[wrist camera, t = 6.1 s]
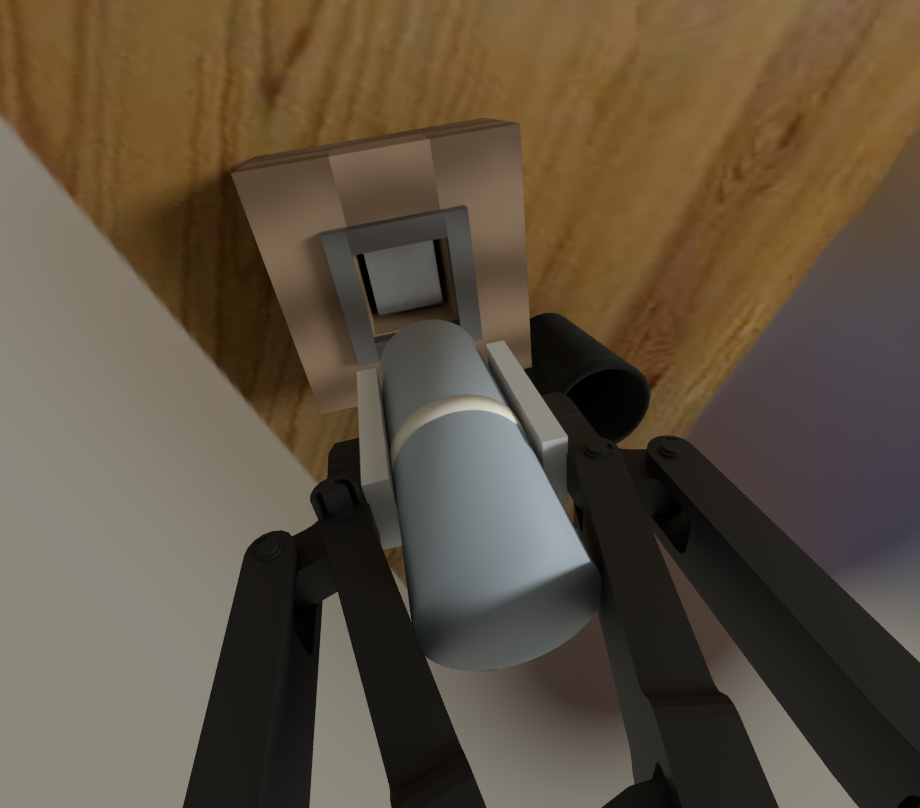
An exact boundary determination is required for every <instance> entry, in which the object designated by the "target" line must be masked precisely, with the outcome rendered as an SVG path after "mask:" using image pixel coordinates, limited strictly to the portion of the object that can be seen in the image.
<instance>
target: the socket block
mask: <svg viewBox="0 0 920 808" xmlns="http://www.w3.org/2000/svg"><path fill="white" fill-rule="evenodd" d="M231 176H232V178H233V181H234V184H235V186H236V189H237V192H238V194H239V197H240V200H241V202H242V205H243V208H244V210H245V213H246V216H247V218H248V221H249V224H250V226H251V229H252V232H253V234H254V237H255V240H256V242H257V245H258V248H259V250H260V253H261V256H262V258H263V261H264V264H265V266H266V269H267V272H268V274H269V277H270V280H271V282H272V285H273V288H274V290H275V293H276V296H277V298H278V301H279V304H280V306H281V309H282V311H283V314H284V317H285V319H286V322H287V325H288V327H289V330H290V333H291V335H292V338H293V341H294V343H295V346H296V349H297V351H298V354H299V357H300V359H301V362H302V365H303V367H304V370H305V373H306V375H307V378H308V381H309V383H310V386H311V389H312V391H313V394H314V397H315V399H316V402H317V405H318V407H319V410H320V413H321V414H325V413H330V412H334V411H339V410H343V409H347V408H352V407H356V406H358V393H357V372H358V371H363V370H367V369H372V368H376V370H377V374H378V377H379V381H380V385H381V389H382V384H381V376H380V360H381V356H382V353H383V351H384V348H385V347H386V345H387V343H388V342H389V341H390V339H391V338H392V337H393V336H394V335H395V334H396V333H397V332H398V331H400V330H401V329H403V328H404V327H406V326H408V325H410V324H412V323H415V322H419V321H422V320H433V319H436V320H444V321H448V322H451V323H454V324H456V325H458V326H460V327H461V328H463V329H464V330H465V331H466V332H467V333H468V334H469V335H470V336H471V337H472V338H473V340H474V341H475V343H476V345H477V347H478V349H479V351H480V353H481V354H482V356H483V358H484V360H485V362H486V364H487V366H488V361H487V352H486V344H489V343H494V342H498V341H503V340H504V341H505V343H506V344H507V346H508V347H509V349H510V350H511V352H512V353H513V355H514V356H515V358H516V359H517V361H518V362H519V364H520V365H521V367H522V368H523V369H526V368H530V367H532V358H531V338H530V318H529V298H528V278H527V258H526V238H525V218H524V198H523V178H522V158H521V138H520V124H519V123H513V122H507V121H501V120H495V119H489V118H481V119H475V120H469V121H464V122H458V123H452V124H446V125H440V126H434V127H428V128H422V129H417V130H411V131H405V132H399V133H393V134H387V135H381V136H376V137H370V138H364V139H358V140H352V141H346V142H340V143H334V144H329V145H323V146H317V147H311V148H305V149H299V150H293V151H288V152H282V153H276V154H270V155H264V156H258V157H254V158H252V159H251V160H250V161H248V162H247V163H245V164H244V165H242V166H241V167H239V168H238V169H237V170H235V171H234V172H232V173H231ZM430 240H433V245H434V252H435V258H436V264H437V270H438V276H439V282H440V289H441V295H442V301H443V302H442V303H437V304H432V305H428V306H423V307H418V308H413V309H408V310H403V311H399V312H394V313H389V314H384V315H379V314H378V310H377V306H376V302H375V298H374V294H373V293H372V294H370V293H369V289H368V285H367V281H366V277H365V273H364V269H363V265H362V261H361V257H360V254H363V253H368V252H374V251H379V250H384V249H389V248H394V247H399V246H405V245H410V244H415V243H420V242H425V241H430Z"/></svg>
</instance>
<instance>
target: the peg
mask: <svg viewBox="0 0 920 808" xmlns="http://www.w3.org/2000/svg"><path fill="white" fill-rule="evenodd" d="M380 376H381V384H382V392H383V400H384V408H385V415H386V423H387V431H388V439H389V447H390V463H391V471H392V476H393V480H394V486H395V494H396V502H397V510H398V518H399V526H400V534H401V542H402V549H403V557H404V565H405V573H406V581H407V589H408V596H409V605H410V612H411V620H412V625H413V627H414V630H415V632H416V635H417V637H418V640H419V642H420V645H421V647H422V650H423V652H424V655H425V656H426V657H427V658H428V659H430V660H432V661H433V662H435V663H437V664H440V665H442V666H445V667H449V668H452V669H459V670H469V671H482V670H493V669H499V668H505V667H509V666H513V665H517V664H520V663H523V662H526V661H529V660H531V659H534V658H537V657H539V656H541V655H543V654H546V653H548V652H549V651H551V650H553V649H555V648H557V647H558V646H560V645H561V644H563V643H565V642H566V641H568V640H569V639H570V638H571V637H573V636H574V635H575V634H576V633H577V632H578V631H580V629H582V628H583V627H584V626H585V624H586V623H587V622H588V621H589V620H590V619H591V617H592V616H593V614H594V613H595V611H596V610H597V608H598V606H599V603H600V598H601V583H602V578H601V575H600V573H599V571H598V569H597V567H596V565H595V563H594V562H593V560H592V558H591V556H590V554H589V552H588V550H587V549H586V547H585V545H584V543H583V541H582V539H581V537H580V536H579V534H578V532H577V530H576V528H575V526H574V525H573V523H572V521H571V519H570V517H569V515H568V513H567V512H566V510H565V508H564V506H563V504H562V502H561V500H560V499H559V497H558V495H557V493H556V491H555V489H554V488H553V486H552V484H551V482H550V480H549V478H548V476H547V475H546V473H545V471H544V469H543V467H542V465H541V464H540V462H539V460H538V458H537V456H536V454H535V452H534V451H533V449H532V447H531V445H530V441H529V438H528V436H527V434H526V432H525V431H524V429H523V427H522V425H521V423H520V421H519V420H518V418H517V417H516V415H515V414H514V413H513V412H512V410H511V408H510V406H509V404H508V402H507V401H506V399H505V397H504V395H503V393H502V391H501V390H500V388H499V386H498V384H497V382H496V380H495V378H494V377H493V375H492V373H491V371H490V369H489V367H488V366H487V364H486V362H485V360H484V358H483V356H482V354H481V353H480V351H479V349H478V347H477V345H476V343H475V341H474V340H473V338H472V337H471V336H470V335H469V334H468V333H467V332H466V331H465V330H464V329H463V328H461V327H460V326H458V325H456V324H454V323H451V322H448V321H444V320H436V319H433V320H422V321H419V322H415V323H412V324H410V325H408V326H406V327H404V328H403V329H401V330H400V331H398V332H397V333H396V334H395V335H394V336H393V337H392V338H391V339H390V341H389V342H388V343H387V345H386V347H385V348H384V351H383V353H382V356H381V360H380Z"/></svg>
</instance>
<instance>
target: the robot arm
mask: <svg viewBox="0 0 920 808" xmlns="http://www.w3.org/2000/svg"><path fill="white" fill-rule="evenodd" d="M486 352H487V361H488V367H489V369H490V371H491V373H492V375H493V377H494V378H495V380H496V382H497V384H498V386H499V388H500V390H501V391H502V393H503V395H504V397H505V399H506V401H507V402H508V404H509V406H510V408H511V410H512V412H513V413H514V414H515V415H516V417H517V418H518V420H519V421H520V423H521V425H522V427H523V429H524V431H525V432H526V434H527V436H528V438H529V441H530V445H531V447H532V449H533V451H534V452H535V454H536V456H537V458H538V460H539V462H540V464H541V465H542V467H543V469H544V471H545V473H546V475H547V476H548V478H549V480H550V482H551V484H552V486H553V488H554V489H555V491H556V493H557V495H558V497H559V499H560V500H561V502H562V504H567V503H568V492H569V494H570V495H571V497H572V499H573V501H574V526H575V528H576V529H577V528H578V533H579V536H580V537H581V539H582V541H583V543H584V545H585V547H586V549H587V550H588V552H589V554H590V556H591V558H592V560H593V562H594V563H595V565H596V567H597V569H598V571H599V573H600V575H601V578H602V583H601V598H600V603H599V606H598V608H597V612H598V616H599V620H600V625H601V629H602V633H603V637H604V641H605V646H606V650H607V653H608V658H609V662H610V667H611V671H612V675H613V679H614V683H615V687H616V692H617V696H618V700H619V704H620V708H621V713H622V716H623V721H624V725H625V729H626V733H627V738H628V742H629V747H630V751H631V759H632V769H633V777H634V784H635V785H632V786H629V787H628V788H626V789H625V790H624V791H623V792H621V793H620V794H619V795H617V796H616V797H615V798H613V799H612V800H611V801H609V802H608V803H607V804H606V805H604V806H603V807H602V808H779V807H778V805H777V802H776V800H775V798H774V796H773V793H772V791H771V788H770V786H769V784H768V781H767V779H766V777H765V774H764V772H763V770H762V767H761V765H760V762H759V760H758V758H757V755H756V753H755V751H754V748H753V746H752V744H751V741H750V739H749V737H748V735H747V732H746V729H745V727H744V725H743V722H742V720H741V718H740V716H739V714H738V712H737V710H736V708H735V706H734V704H733V703H732V701H731V700H730V698H729V697H728V696H727V695H725V694H723V693H721V692H719V690H718V689H717V687H716V686H715V684H714V682H713V680H712V677H711V675H710V672H709V670H708V667H707V665H706V662H705V660H704V657H703V655H702V652H701V650H700V648H699V645H698V643H697V640H696V638H695V635H694V633H693V631H692V628H691V625H690V623H689V621H688V618H687V615H686V613H685V610H684V608H683V605H682V603H681V601H680V598H679V596H678V593H677V591H676V588H675V586H674V583H673V581H672V578H671V576H670V573H669V571H668V568H667V566H666V563H665V561H664V559H663V556H662V554H661V551H660V549H659V546H658V544H657V541H656V539H655V536H654V534H655V535H656V536H657V538H658V539H659V540H660V542H661V543H662V545H663V546H664V547H665V549H666V550H667V551H668V553H669V554H670V555H671V557H672V558H673V559H674V561H675V562H676V563H677V565H678V566H679V568H680V569H681V570H682V572H683V573H684V574H685V576H686V577H687V578H688V580H689V581H690V582H691V584H692V585H693V586H694V588H695V589H696V590H697V592H698V593H699V595H700V596H701V597H702V599H703V600H704V601H705V603H706V604H707V605H708V607H709V608H710V609H711V611H712V612H713V614H714V615H715V616H716V618H717V619H718V620H719V622H720V623H721V624H722V626H723V627H724V628H725V630H726V631H727V632H728V634H729V635H730V636H731V638H732V639H733V641H734V642H735V643H736V645H737V646H738V647H739V649H740V650H741V651H742V653H743V654H744V655H745V657H746V658H747V659H748V661H749V662H750V663H751V665H752V666H753V668H754V669H755V670H756V672H757V673H758V674H759V676H760V677H761V678H762V680H763V681H764V683H765V684H766V685H767V687H768V688H769V689H770V690H771V692H772V693H773V695H774V696H775V697H776V699H777V700H778V701H779V703H780V704H781V705H782V707H783V708H784V710H785V711H786V712H787V714H788V715H789V716H790V718H791V719H792V720H793V722H794V723H795V724H796V726H797V727H798V728H799V730H800V731H801V733H802V734H803V735H804V736H805V738H806V739H807V741H808V742H809V743H810V745H811V746H812V747H813V749H814V750H815V752H816V753H817V754H818V756H819V757H820V758H821V760H822V761H823V762H824V764H825V765H826V766H827V768H828V769H829V770H830V772H831V773H832V774H833V776H834V777H835V778H836V779H837V781H838V782H839V783H840V784H841V786H842V787H843V788H844V789H845V791H846V792H847V793H848V795H849V796H850V797H851V798H852V800H853V801H854V802H855V803H856V804H857V806H858V807H859V808H920V662H919V661H917V659H916V658H914V657H913V656H912V655H911V654H910V653H909V652H908V651H907V650H906V649H905V648H904V647H903V646H902V645H901V644H900V643H899V642H898V641H897V640H896V639H894V637H893V636H891V635H890V634H889V633H888V632H887V631H886V630H885V629H884V628H883V627H882V626H881V625H880V624H879V623H878V622H877V621H876V620H875V619H874V618H873V617H871V615H870V614H869V613H867V612H866V611H865V610H864V609H863V608H862V607H861V606H860V605H859V604H858V603H857V602H856V601H855V600H854V599H853V598H852V597H851V596H850V595H849V594H848V593H847V592H846V591H845V590H843V589H842V588H841V587H840V586H839V585H838V584H837V583H836V582H835V581H834V580H833V579H832V578H831V577H830V576H829V575H828V574H827V573H826V572H825V571H824V570H823V569H822V568H821V567H819V566H818V565H817V564H816V563H815V562H814V561H813V560H812V559H811V558H810V557H809V556H808V555H807V554H806V553H805V552H804V551H803V550H801V548H800V547H799V546H798V545H796V544H795V543H794V542H793V541H792V540H791V539H790V538H789V537H788V536H787V535H786V534H785V533H784V532H783V531H782V530H781V529H780V528H779V527H777V525H776V524H775V523H773V522H772V521H771V520H770V519H769V518H768V517H767V516H766V515H765V514H764V513H763V512H762V511H761V510H760V509H759V508H758V507H757V506H756V505H755V504H754V503H753V502H752V501H751V500H749V499H748V498H747V497H746V496H745V495H744V494H743V493H742V492H741V491H740V490H739V489H738V488H737V487H736V486H735V485H734V484H733V483H732V482H730V480H729V479H727V477H725V476H724V475H723V474H722V473H721V472H720V471H719V470H718V469H717V468H716V467H715V466H714V465H713V464H712V463H711V462H710V461H709V460H707V458H705V456H704V455H703V454H701V453H700V452H699V451H698V450H697V449H696V448H695V447H694V446H693V445H692V444H691V443H689V442H688V441H686V440H685V439H682V438H679V437H676V436H658V437H656V438H654V439H652V440H651V441H650V442H649V443H648V446H647V449H620V448H618V447H617V445H616V444H615V443H614V442H612V441H611V440H609V439H606V438H602V437H599V435H598V434H597V433H596V431H595V430H594V429H593V427H592V426H591V425H590V423H589V422H588V421H587V420H586V418H585V417H584V416H583V415H582V414H581V412H580V410H579V409H578V408H577V407H576V405H575V404H574V402H573V401H572V400H571V398H570V397H568V396H566V395H564V394H562V393H561V392H554V393H550V394H545V395H540V394H539V392H538V391H537V389H536V388H535V386H534V385H533V383H532V382H531V380H530V379H529V377H528V376H527V374H526V373H525V371H524V370H523V368H522V367H521V365H520V364H519V362H518V361H517V359H516V358H515V356H514V355H513V353H512V352H511V350H510V349H509V347H508V346H507V344H506V343H505V341H504V340H503V341H498V342H494V343H489V344H486ZM357 393H358V418H359V438H357V439H352V440H348V441H343V442H339V443H335V444H334V446H333V448H332V449H331V451H330V453H329V455H328V475H327V479H326V480H324V481H322V482H320V483H319V484H318V485H317V486H316V487H315V488H314V489H313V491H312V493H311V496H310V502H311V504H312V506H313V509H314V511H315V513H316V515H317V518H318V521H317V522H316V523H315V524H313V525H312V526H311V527H309V528H307V529H306V530H304V531H302V532H300V533H298V534H296V535H294V536H291V535H290V534H289V533H288V532H285V531H282V530H281V531H272V532H269V533H267V534H264V535H262V536H261V537H259V538H258V539H256V540H255V541H254V542H253V543H252V544H251V545H250V546H249V547H248V549H247V551H246V553H245V555H244V559H243V563H242V567H241V571H240V575H239V579H238V584H237V587H236V591H235V596H234V600H233V604H232V608H231V612H230V616H229V620H228V624H227V628H226V632H225V637H224V641H223V645H222V649H221V653H220V657H219V661H218V665H217V669H216V673H215V678H214V682H213V686H212V690H211V694H210V699H209V702H208V706H207V710H206V715H205V719H204V723H203V727H202V731H201V735H200V739H199V744H198V748H197V751H196V756H195V760H194V764H193V768H192V772H191V776H190V781H189V784H188V789H187V792H186V797H185V801H184V805H183V808H309V801H310V787H311V772H312V756H313V755H312V754H313V741H314V725H315V710H316V694H317V678H318V663H319V647H320V632H321V616H322V600H324V599H325V598H327V597H329V596H331V595H332V594H334V593H336V592H338V594H339V598H340V602H341V605H342V609H343V613H344V616H345V620H346V624H347V628H348V632H349V636H350V639H351V643H352V647H353V651H354V654H355V658H356V662H357V666H358V669H359V673H360V677H361V681H362V684H363V688H364V692H365V696H366V699H367V703H368V707H369V711H370V715H371V718H372V722H373V726H374V730H375V733H376V737H377V741H378V745H379V748H380V752H381V756H382V760H383V763H384V767H385V771H386V775H387V779H388V783H389V787H390V802H391V807H392V808H486V805H485V803H484V800H483V798H482V795H481V793H480V790H479V788H478V785H477V783H476V780H475V778H474V775H473V773H472V770H471V768H470V765H469V763H468V761H467V759H466V756H465V754H464V752H463V750H462V748H461V745H460V743H459V741H458V738H457V735H456V733H455V730H454V728H453V725H452V723H451V721H450V718H449V715H448V713H447V711H446V708H445V705H444V703H443V700H442V698H441V695H440V693H439V690H438V688H437V685H436V683H435V680H434V678H433V675H432V673H431V670H430V668H429V665H428V662H427V660H426V657H425V655H424V652H423V650H422V647H421V645H420V642H419V640H418V637H417V635H416V632H415V630H414V627H413V625H412V622H411V620H410V617H409V615H408V612H407V610H406V607H405V605H404V602H403V600H402V597H401V595H400V592H399V590H398V587H397V585H396V582H395V580H394V577H393V575H392V572H391V569H390V567H389V564H388V562H387V559H386V557H385V554H384V552H383V550H385V549H389V548H393V547H397V546H401V545H402V542H401V534H400V526H399V518H398V510H397V502H396V494H395V486H394V480H393V476H392V471H391V463H390V447H389V439H388V431H387V423H386V415H385V408H384V400H383V392H382V389H381V385H380V381H379V377H378V374H377V370H376V368H372V369H367V370H363V371H358V372H357ZM653 532H654V534H653ZM381 545H382V547H381ZM382 548H383V549H382Z"/></svg>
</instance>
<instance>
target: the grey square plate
mask: <svg viewBox="0 0 920 808" xmlns="http://www.w3.org/2000/svg"><path fill="white" fill-rule="evenodd" d="M363 254H364V258H365V262H366V266H367V270H368V274H369V278H370V282H371V286H372V290H373V294H374V298H375V302H376V306H377V310H378V314H379V315H384V314H389V313H394V312H399V311H403V310H408V309H413V308H418V307H423V306H428V305H432V304H437V303H442V302H443V301H442V295H441V289H440V282H439V276H438V270H437V264H436V258H435V252H434V245H433V240H430V241H425V242H420V243H415V244H410V245H405V246H399V247H394V248H389V249H384V250H379V251H374V252H368V253H363Z"/></svg>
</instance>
